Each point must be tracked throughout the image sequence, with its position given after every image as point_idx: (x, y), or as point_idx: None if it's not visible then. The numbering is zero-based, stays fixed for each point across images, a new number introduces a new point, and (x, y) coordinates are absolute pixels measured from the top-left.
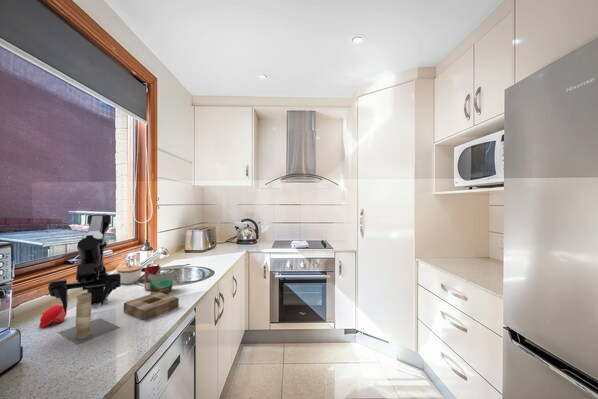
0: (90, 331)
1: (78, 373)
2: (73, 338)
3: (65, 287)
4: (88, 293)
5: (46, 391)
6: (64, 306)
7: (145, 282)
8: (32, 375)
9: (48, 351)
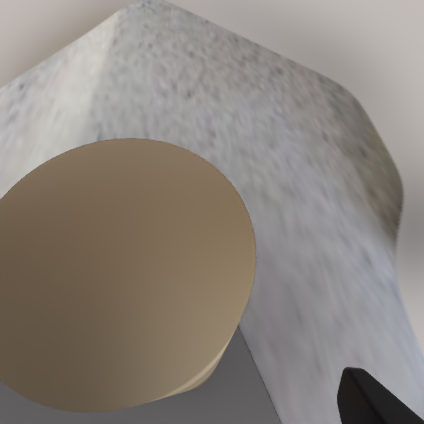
0: (141, 408)
1: (196, 76)
2: (229, 356)
3: None
4: (21, 285)
5: (260, 50)
6: (391, 404)
7: None
8: (317, 132)
9: (320, 286)
